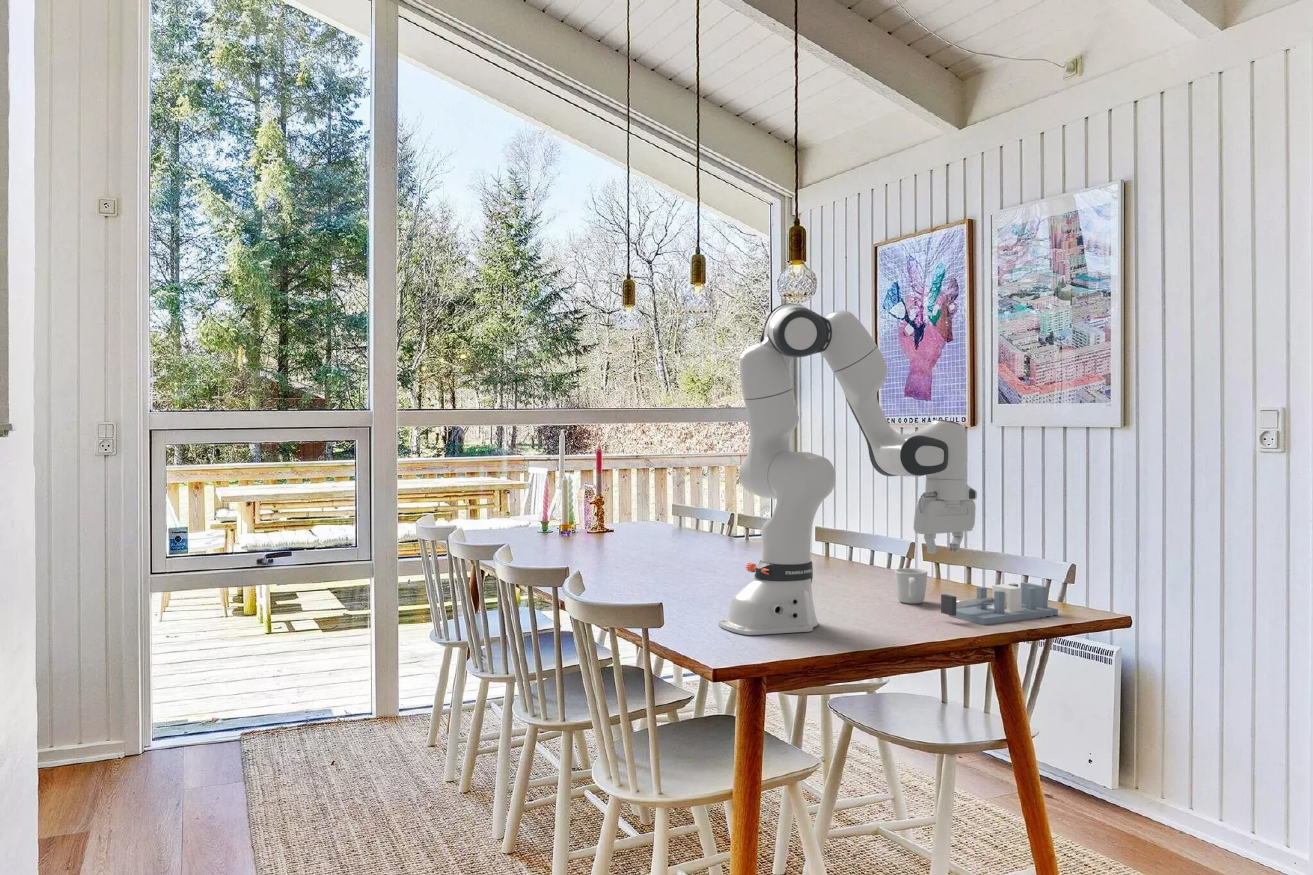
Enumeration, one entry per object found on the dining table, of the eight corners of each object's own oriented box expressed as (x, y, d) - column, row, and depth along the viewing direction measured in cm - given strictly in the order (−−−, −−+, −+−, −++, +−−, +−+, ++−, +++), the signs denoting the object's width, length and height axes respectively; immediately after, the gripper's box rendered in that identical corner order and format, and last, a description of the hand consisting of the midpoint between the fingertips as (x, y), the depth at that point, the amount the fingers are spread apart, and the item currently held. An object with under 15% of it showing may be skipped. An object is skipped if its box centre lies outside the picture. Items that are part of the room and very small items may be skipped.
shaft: (952, 615, 213) (952, 597, 213) (941, 612, 216) (941, 594, 216) (997, 610, 219) (997, 592, 219) (986, 607, 222) (986, 589, 222)
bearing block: (983, 625, 212) (983, 596, 212) (948, 615, 222) (948, 588, 222) (1057, 615, 222) (1057, 587, 222) (1021, 607, 232) (1021, 580, 232)
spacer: (1003, 605, 225) (1003, 584, 225) (1021, 610, 220) (1021, 587, 220) (992, 607, 224) (992, 585, 224) (1009, 611, 219) (1009, 589, 219)
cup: (929, 608, 231) (929, 575, 230) (895, 607, 232) (896, 574, 232) (926, 599, 241) (926, 568, 241) (893, 598, 243) (893, 567, 243)
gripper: (932, 493, 206) (930, 556, 206) (981, 491, 219) (979, 551, 219) (907, 491, 210) (905, 553, 210) (956, 490, 224) (954, 548, 224)
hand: (943, 552), depth 215 cm, fingers open, 8 cm apart
